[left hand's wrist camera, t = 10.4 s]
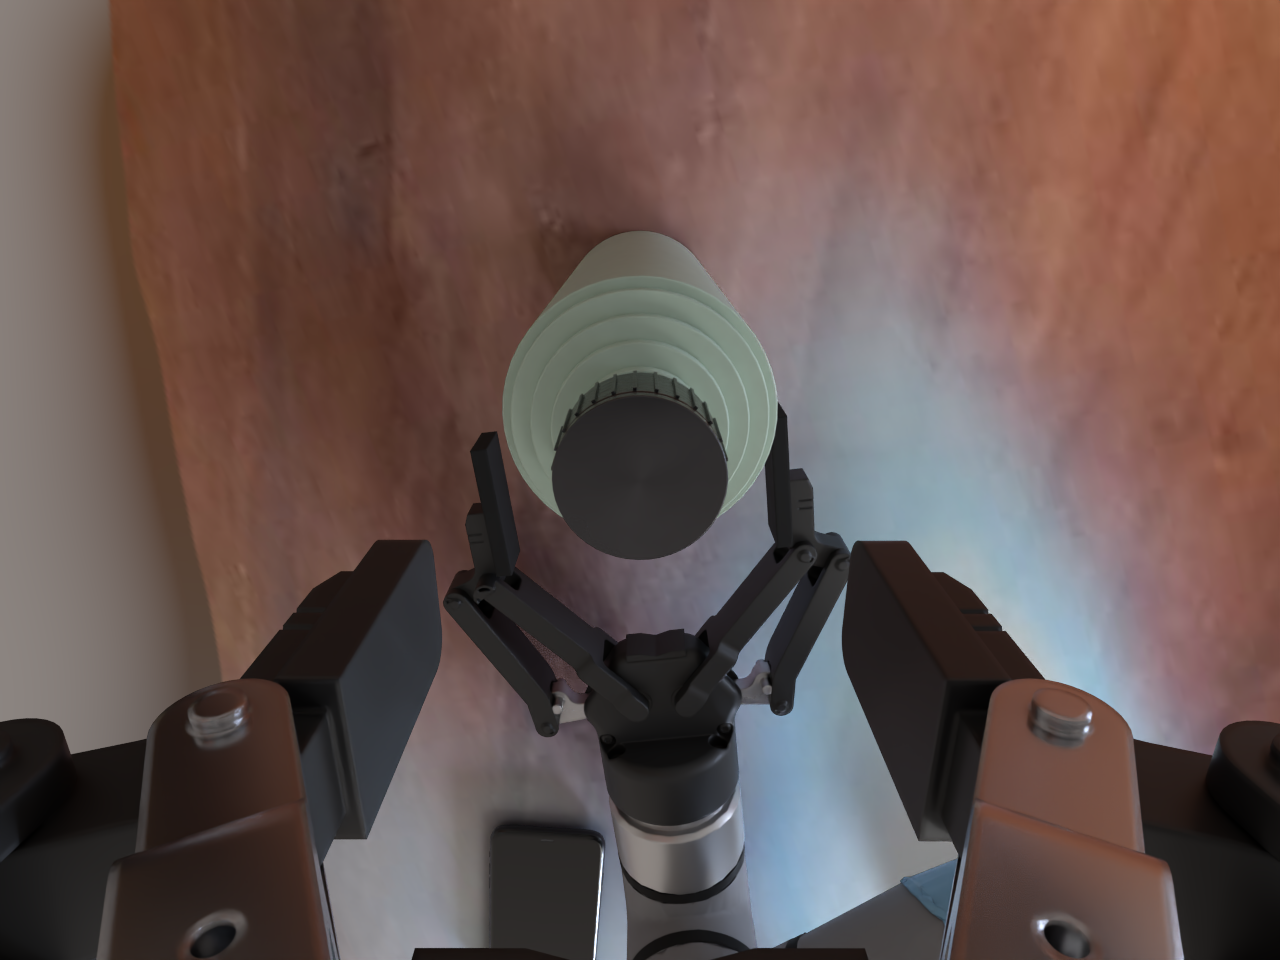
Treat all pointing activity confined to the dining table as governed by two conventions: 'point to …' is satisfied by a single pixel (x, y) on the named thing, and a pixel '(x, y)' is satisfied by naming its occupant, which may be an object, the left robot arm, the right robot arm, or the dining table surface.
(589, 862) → the smartphone
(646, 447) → the cap
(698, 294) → the bottle
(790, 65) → the dining table surface
